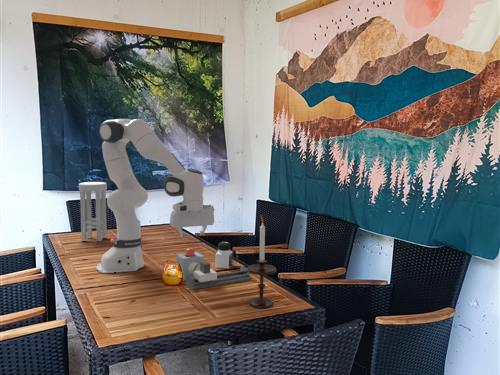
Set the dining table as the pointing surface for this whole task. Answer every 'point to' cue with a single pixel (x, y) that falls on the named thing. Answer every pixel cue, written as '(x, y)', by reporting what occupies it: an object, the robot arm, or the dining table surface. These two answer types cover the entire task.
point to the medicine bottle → (224, 256)
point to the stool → (91, 223)
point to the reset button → (190, 252)
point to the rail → (219, 279)
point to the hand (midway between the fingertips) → (192, 235)
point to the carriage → (205, 273)
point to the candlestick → (261, 273)
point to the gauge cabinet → (189, 263)
